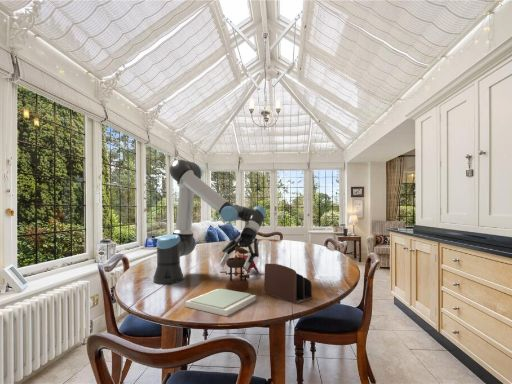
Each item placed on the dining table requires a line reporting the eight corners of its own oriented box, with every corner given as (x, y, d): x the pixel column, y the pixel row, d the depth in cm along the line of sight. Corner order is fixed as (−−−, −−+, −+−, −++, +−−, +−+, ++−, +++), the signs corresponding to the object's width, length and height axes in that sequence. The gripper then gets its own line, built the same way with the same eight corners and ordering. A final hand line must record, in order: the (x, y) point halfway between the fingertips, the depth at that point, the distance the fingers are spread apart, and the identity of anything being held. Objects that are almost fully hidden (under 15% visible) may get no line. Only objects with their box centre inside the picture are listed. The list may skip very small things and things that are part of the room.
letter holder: (295, 304, 117) (294, 268, 118) (263, 293, 133) (263, 261, 133) (312, 299, 123) (311, 265, 124) (280, 289, 139) (279, 258, 139)
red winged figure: (248, 274, 185) (232, 257, 184) (259, 264, 186) (242, 247, 185) (252, 287, 157) (233, 267, 156) (265, 275, 158) (246, 254, 157)
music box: (249, 284, 147) (250, 244, 146) (253, 292, 136) (254, 249, 135) (218, 286, 144) (219, 245, 143) (220, 294, 133) (220, 250, 132)
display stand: (185, 306, 116) (185, 300, 116) (217, 293, 133) (217, 287, 133) (226, 316, 105) (226, 309, 105) (255, 300, 122) (255, 294, 122)
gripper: (274, 237, 147) (259, 274, 134) (233, 235, 160) (215, 268, 147) (268, 227, 143) (252, 264, 130) (227, 226, 156) (208, 259, 142)
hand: (233, 266), depth 138 cm, fingers open, 13 cm apart
